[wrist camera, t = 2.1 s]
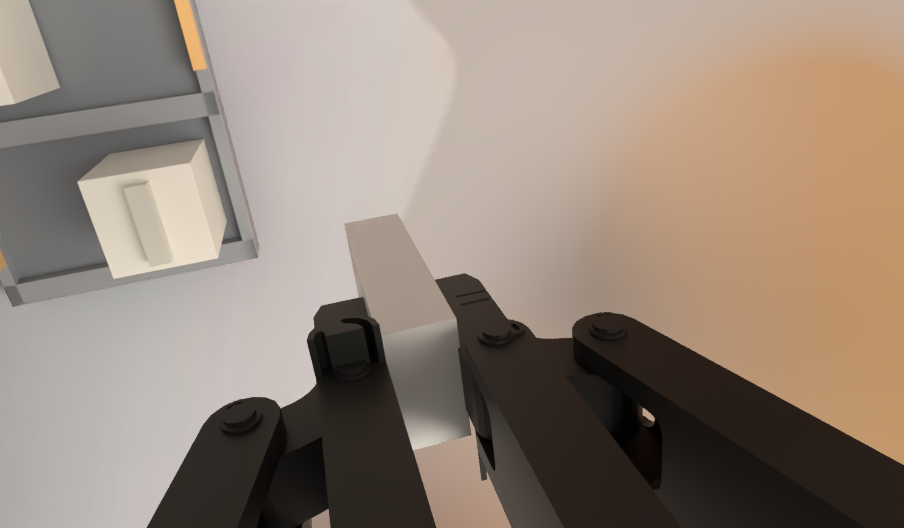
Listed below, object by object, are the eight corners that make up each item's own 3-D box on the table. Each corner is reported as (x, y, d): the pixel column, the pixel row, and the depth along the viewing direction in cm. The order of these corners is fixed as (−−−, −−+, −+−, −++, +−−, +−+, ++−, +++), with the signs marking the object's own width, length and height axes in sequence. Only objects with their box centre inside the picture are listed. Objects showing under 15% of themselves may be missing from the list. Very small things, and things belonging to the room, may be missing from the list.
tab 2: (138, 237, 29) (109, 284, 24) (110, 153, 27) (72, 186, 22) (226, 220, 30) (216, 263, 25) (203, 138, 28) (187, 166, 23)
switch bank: (27, 290, 30) (6, 313, 28) (-229, -287, 21) (-289, -323, 19) (258, 245, 32) (257, 262, 30) (116, -299, 23) (98, -332, 21)
